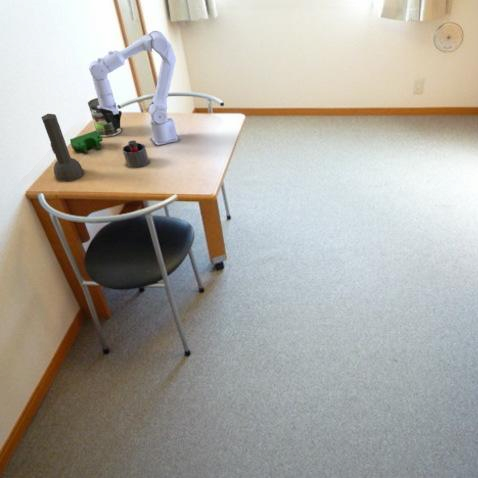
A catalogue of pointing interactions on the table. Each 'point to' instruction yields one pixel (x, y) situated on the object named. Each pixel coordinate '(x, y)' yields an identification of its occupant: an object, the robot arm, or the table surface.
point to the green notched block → (86, 141)
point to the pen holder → (136, 156)
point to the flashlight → (61, 151)
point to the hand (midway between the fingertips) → (113, 125)
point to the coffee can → (101, 120)
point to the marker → (133, 146)
